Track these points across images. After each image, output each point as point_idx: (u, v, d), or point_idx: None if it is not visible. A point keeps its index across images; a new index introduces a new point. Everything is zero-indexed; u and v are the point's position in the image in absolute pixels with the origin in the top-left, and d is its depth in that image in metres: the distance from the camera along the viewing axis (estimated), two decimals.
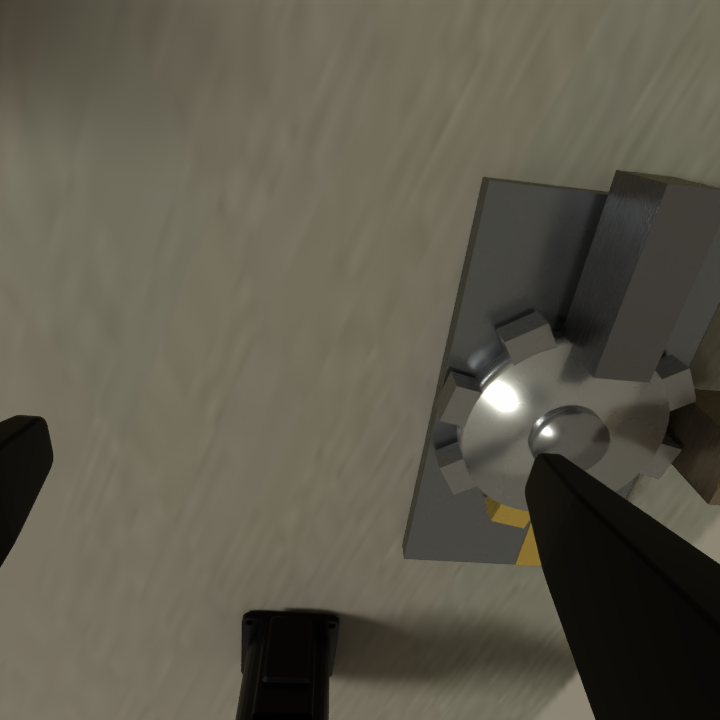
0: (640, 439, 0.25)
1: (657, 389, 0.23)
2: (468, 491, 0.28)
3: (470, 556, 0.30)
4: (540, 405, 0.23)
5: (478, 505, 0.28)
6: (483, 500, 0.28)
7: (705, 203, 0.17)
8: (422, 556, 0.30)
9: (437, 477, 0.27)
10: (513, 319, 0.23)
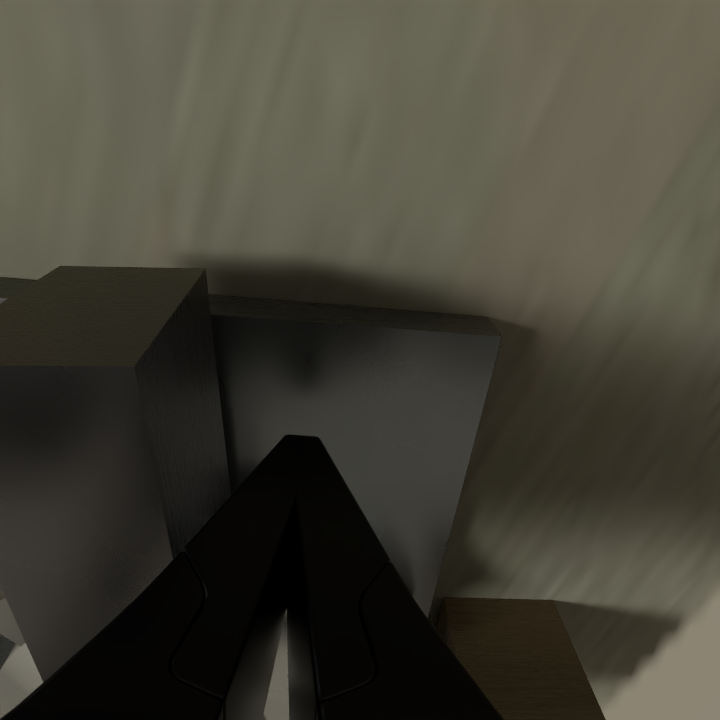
0: None
1: None
2: None
3: None
4: None
5: None
6: None
7: (64, 403, 0.06)
8: None
9: None
10: None
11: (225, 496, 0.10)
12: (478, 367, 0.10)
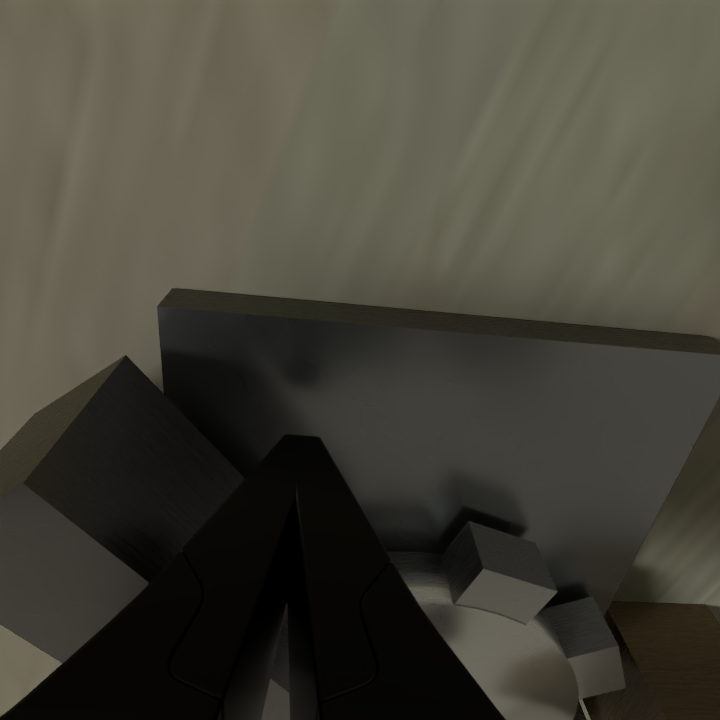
0: (522, 673, 0.13)
1: (462, 619, 0.12)
2: None
3: None
4: None
5: None
6: None
7: (6, 533, 0.07)
8: None
9: None
10: None
11: None
12: (711, 385, 0.11)
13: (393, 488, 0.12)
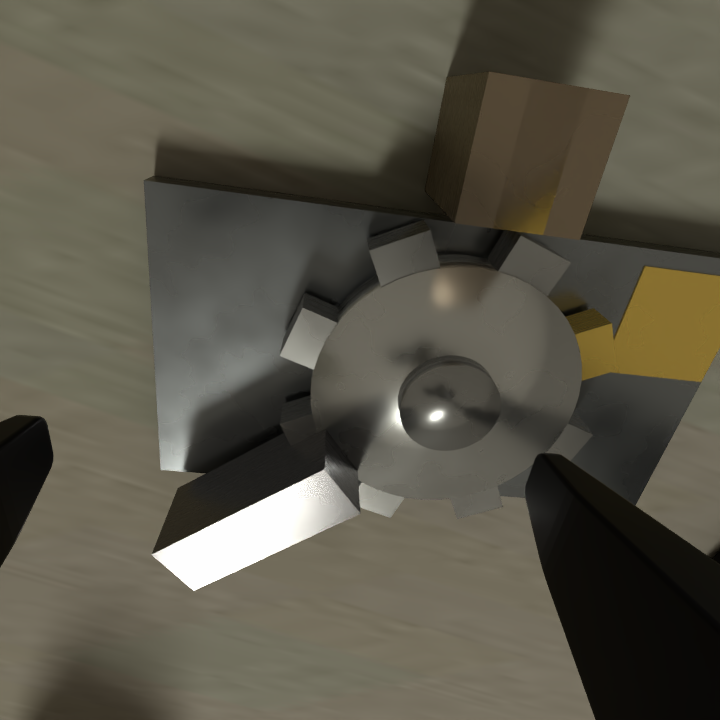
0: (393, 318, 0.17)
1: (326, 364, 0.18)
2: None
3: (660, 437, 0.22)
4: (427, 448, 0.19)
5: None
6: None
7: (176, 563, 0.19)
8: (637, 488, 0.23)
9: (510, 482, 0.23)
10: None
11: (266, 448, 0.20)
12: (167, 193, 0.16)
13: (263, 376, 0.20)
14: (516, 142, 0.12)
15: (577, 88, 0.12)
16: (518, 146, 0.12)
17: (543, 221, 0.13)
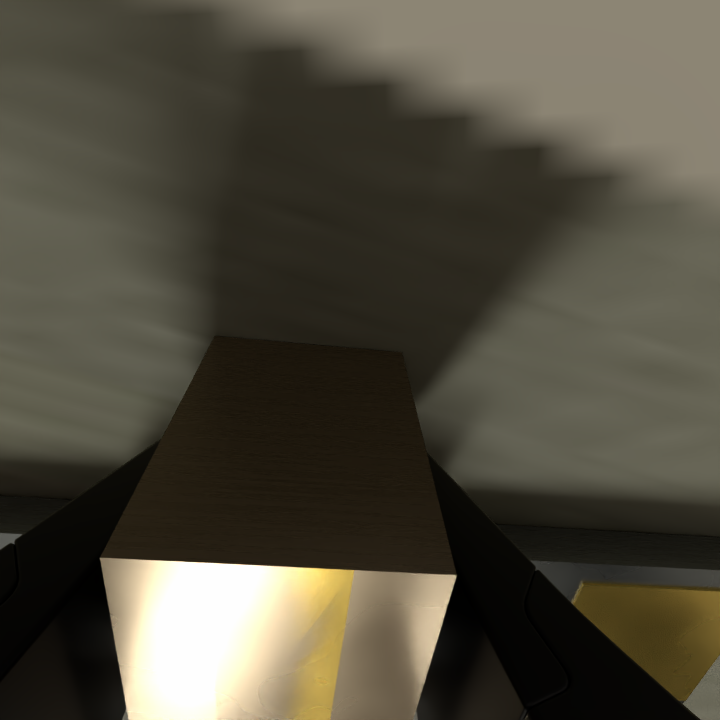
0: None
1: None
2: None
3: None
4: None
5: None
6: None
7: None
8: None
9: None
10: None
11: None
12: None
13: None
14: (215, 649, 0.05)
15: (328, 569, 0.05)
16: (224, 654, 0.06)
17: None
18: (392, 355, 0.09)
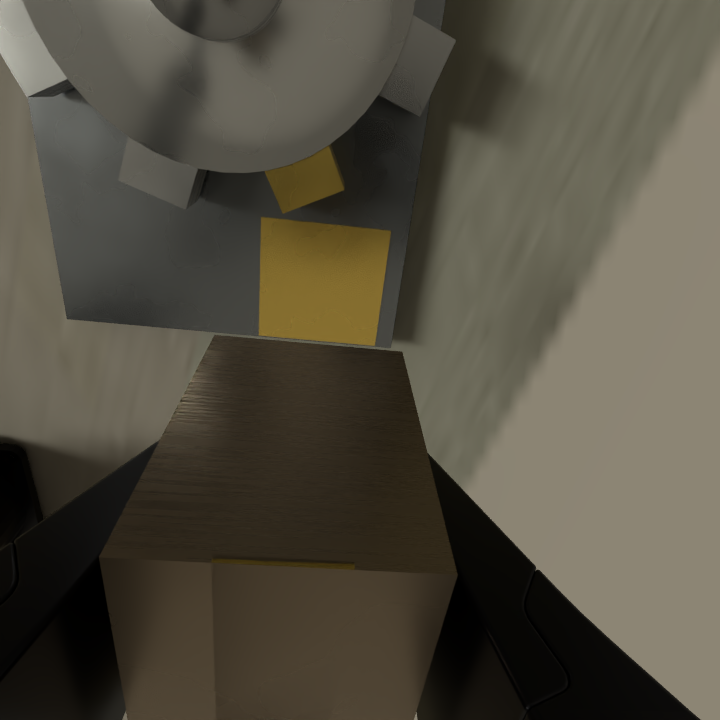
0: None
1: None
2: None
3: (178, 316, 0.18)
4: None
5: (157, 200, 0.16)
6: None
7: None
8: (96, 313, 0.18)
9: (60, 128, 0.15)
10: None
11: None
12: None
13: None
14: (215, 649, 0.05)
15: (328, 569, 0.05)
16: (223, 654, 0.06)
17: None
18: (392, 354, 0.09)
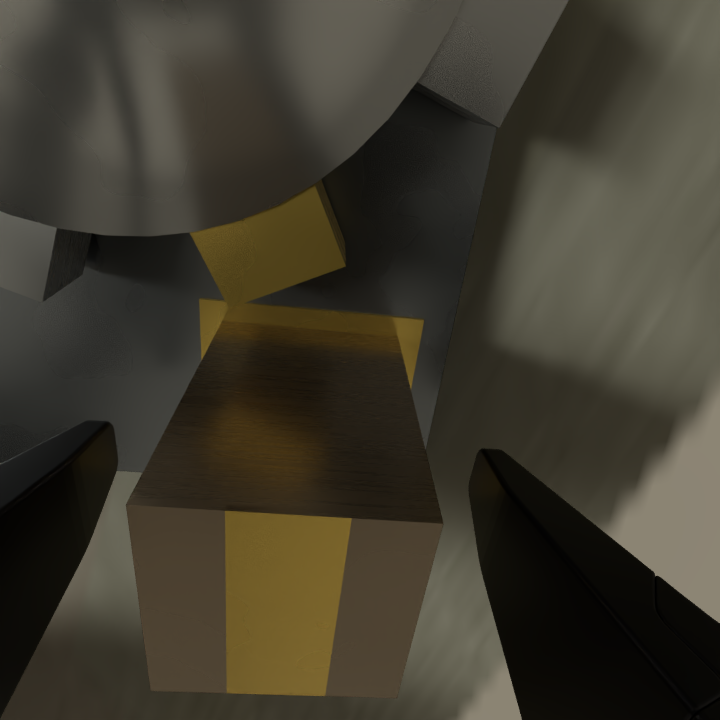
0: None
1: None
2: None
3: None
4: None
5: None
6: None
7: None
8: None
9: None
10: None
11: None
12: None
13: None
14: (227, 593, 0.06)
15: (328, 517, 0.06)
16: (234, 599, 0.06)
17: (320, 681, 0.07)
18: (388, 338, 0.10)
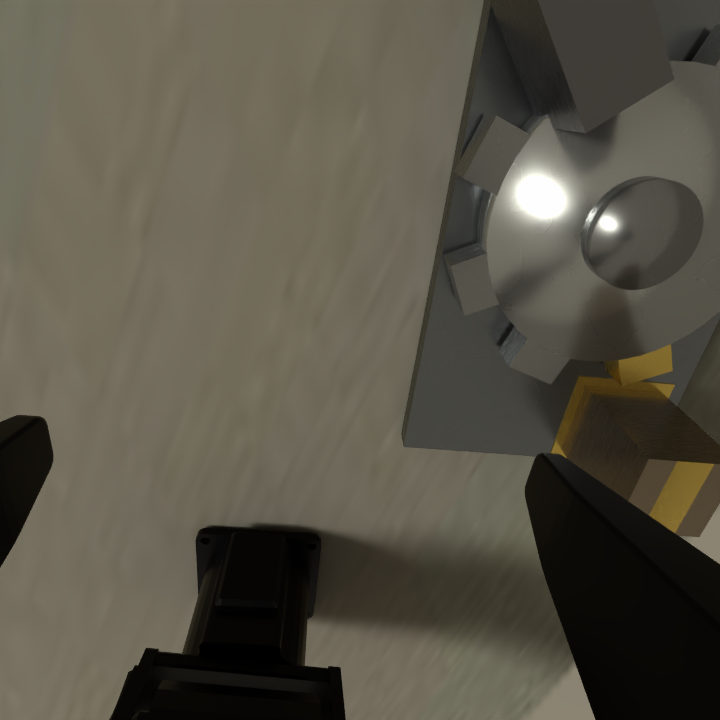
0: None
1: (719, 83, 0.15)
2: (490, 342, 0.21)
3: (491, 444, 0.23)
4: (570, 217, 0.17)
5: (503, 365, 0.21)
6: None
7: None
8: (427, 442, 0.23)
9: (449, 319, 0.20)
10: None
11: None
12: None
13: None
14: (662, 490, 0.18)
15: (706, 463, 0.18)
16: (663, 493, 0.18)
17: (675, 528, 0.19)
18: (658, 393, 0.22)
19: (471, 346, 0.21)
